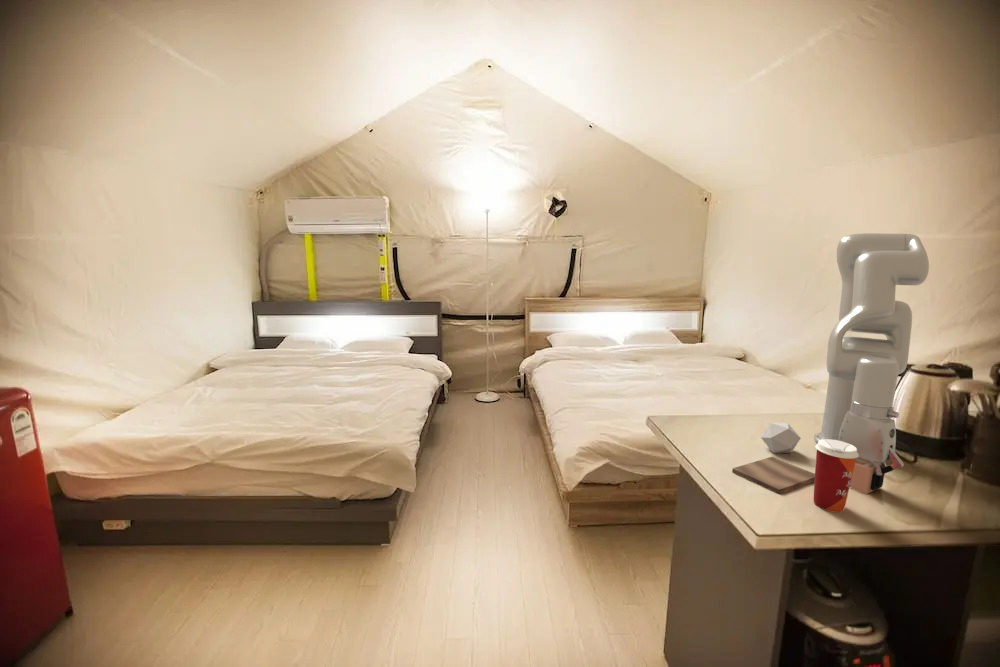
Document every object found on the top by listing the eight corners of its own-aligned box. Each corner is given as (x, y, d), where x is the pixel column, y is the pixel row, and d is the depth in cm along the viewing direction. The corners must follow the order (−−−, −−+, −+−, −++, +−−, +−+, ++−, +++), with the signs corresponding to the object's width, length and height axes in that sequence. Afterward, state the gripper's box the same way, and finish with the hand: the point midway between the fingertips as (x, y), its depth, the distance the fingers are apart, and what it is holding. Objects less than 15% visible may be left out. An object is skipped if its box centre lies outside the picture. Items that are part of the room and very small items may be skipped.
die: (786, 447, 138) (766, 418, 139) (812, 443, 130) (791, 412, 132) (770, 462, 134) (749, 432, 136) (795, 459, 127) (773, 427, 128)
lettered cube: (851, 477, 118) (855, 453, 117) (879, 488, 113) (883, 463, 112) (838, 482, 116) (841, 458, 115) (866, 493, 110) (870, 468, 109)
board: (771, 460, 127) (771, 456, 127) (818, 479, 117) (819, 475, 117) (732, 472, 120) (732, 468, 120) (778, 493, 109) (779, 489, 109)
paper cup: (851, 518, 100) (861, 455, 97) (807, 507, 104) (816, 446, 101) (848, 502, 106) (857, 442, 104) (807, 492, 110) (815, 435, 108)
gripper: (924, 419, 105) (910, 495, 108) (839, 398, 120) (829, 465, 123) (907, 425, 102) (893, 503, 105) (822, 401, 117) (812, 470, 120)
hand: (859, 481), depth 114 cm, fingers closed on lettered cube, 6 cm apart
